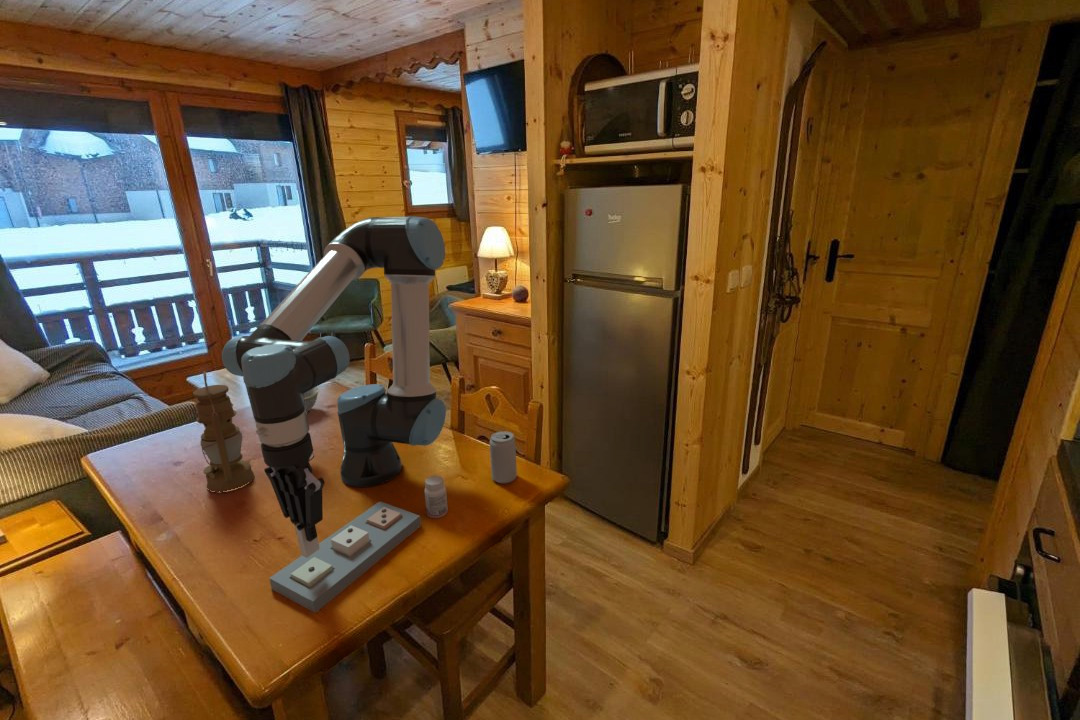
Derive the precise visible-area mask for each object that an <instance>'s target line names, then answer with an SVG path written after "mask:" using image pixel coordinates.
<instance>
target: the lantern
mask: <svg viewBox="0 0 1080 720" xmlns="http://www.w3.org/2000/svg"><path fill="white" fill-rule="evenodd" d="M202 373H203V374H202V375H203V379H204V386H203V387H200V388H197V389H195V390H194V391H193V392H192V393H193V397H194V398H196V399H197V401H196V409H197V410H196V411H195V413H196V414H197V415H198V417H197V418H196V423H198V424H201V425H203V426H204V430H203V433H202V434H200V447H201V452H202V454H203V456H204V459H205V460H206V463H207V464H208V465H207V466H206V467H205V468H204V469H203V474H205V478H206V489H207V488H208V489H209V490H211V491H215V492H219V491H220V492H223V491H227V490H231V489H235V488H238V487H241V486H243V485H245V484H247V483H248V482H250V481H251V480H252V479H253V480H254V478H255V473H254V471H253V470H252V466H251V462H249V461H247V460H243V457H244V456H243V453H241V452H242V445H243V434H242V433H243V432H241V430H240V427H239V426H237V425H236V424H234V423H233V418H234V417H235V416H236V415H237V414H238V413H237V410H234V404H233V403H232V402H231V398H230V396H229V395H228V394H227V393H228V392H229V390H230V389H229V386H228V385H227V384H212V385H208V383H207V371H205V370H203V372H202ZM207 458H208V459H209V461H208V460H207ZM253 477H254V478H253ZM208 489H207V490H208Z"/></svg>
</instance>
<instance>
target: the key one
mask: <svg viewBox="0 0 1080 720" xmlns="http://www.w3.org/2000/svg"><path fill="white" fill-rule="evenodd" d="M331 571H333V568H332V565H330V564H328V563H326V562H324V561H322V560H320V559H318V558H315V557H313V558H312V559H311V560H309V561H308V562H306V563H305V564H304V565H302V566H301V567H299V568H298V569H297V570H295V571H294V572H292V573H291V578H292V580H294V581H296V582H298V583H300V584H302V585H303V586H305V587H307V588H310V587H312V586H313V585H314V584H316V583H317V582H318V581H320V580H321V579H322V578H323V577H325V576H326V575H327V574H329V573H330V572H331Z"/></svg>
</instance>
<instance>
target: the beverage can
mask: <svg viewBox="0 0 1080 720" xmlns="http://www.w3.org/2000/svg"><path fill="white" fill-rule="evenodd" d="M514 436H515V435H514V433H513V432H510V431H505V430H504V431H496V432H494V433H492V434H491V436H490V439H489V451H490V452H489V453H490V454H489V455H490V470H491V479H492V480H493V481H494V482H496V483H498V484H501V485H502V484H503V485H504V484H510V483H512V482H514V480H515V479H516V478H517V476H518V469H517V447H516V438H515V437H514Z"/></svg>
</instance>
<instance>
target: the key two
mask: <svg viewBox="0 0 1080 720" xmlns="http://www.w3.org/2000/svg"><path fill="white" fill-rule="evenodd" d="M369 542H370V540H369V533H368V532H366V531H364V530H361V529H359V528H356V527H354V526H352V525H351V526H349V527H348V528H346V529H345V530H343V531H342V532H341V533H339V534H338V535H336V536H335V537H333V538H332V539H331V544H332V550H335V551H337V552H339V553H341V554H343V555H346V556H348V557H351V556H352V555H353V554H355V553H356V552H357V551H359V550H360V549H361V548H362V547H364V546H365V545H366V544H368V543H369Z"/></svg>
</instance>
